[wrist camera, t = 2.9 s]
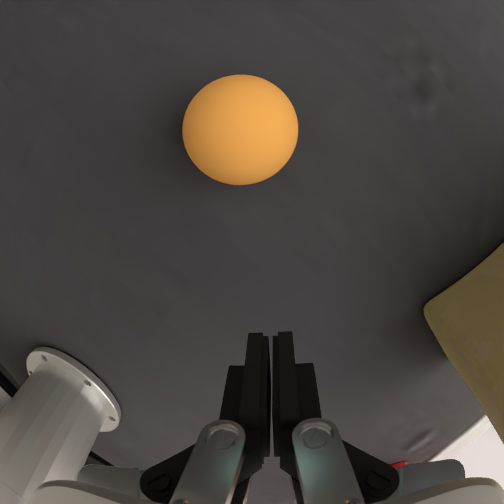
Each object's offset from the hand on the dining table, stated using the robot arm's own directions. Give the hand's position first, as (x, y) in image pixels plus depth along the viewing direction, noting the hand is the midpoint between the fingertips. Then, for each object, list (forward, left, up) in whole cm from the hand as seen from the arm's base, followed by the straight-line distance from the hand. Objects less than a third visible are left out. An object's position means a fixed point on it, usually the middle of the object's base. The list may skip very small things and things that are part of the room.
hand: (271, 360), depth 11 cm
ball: (+4, +8, -5) cm, 10 cm away
